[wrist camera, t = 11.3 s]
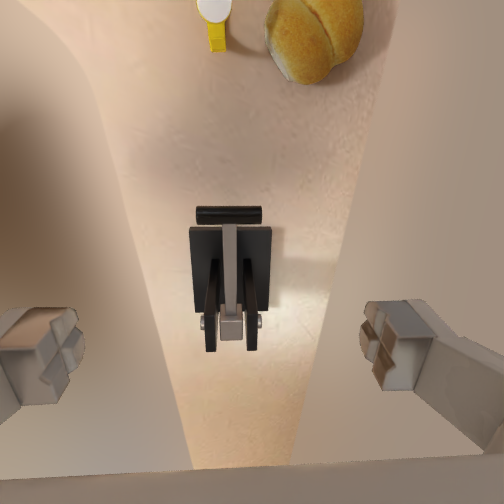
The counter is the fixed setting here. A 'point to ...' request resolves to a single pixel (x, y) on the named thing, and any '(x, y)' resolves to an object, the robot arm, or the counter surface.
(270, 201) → the counter surface
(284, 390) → the counter surface
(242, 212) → the lever
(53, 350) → the robot arm
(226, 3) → the watch
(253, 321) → the bracket
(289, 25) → the bread roll
